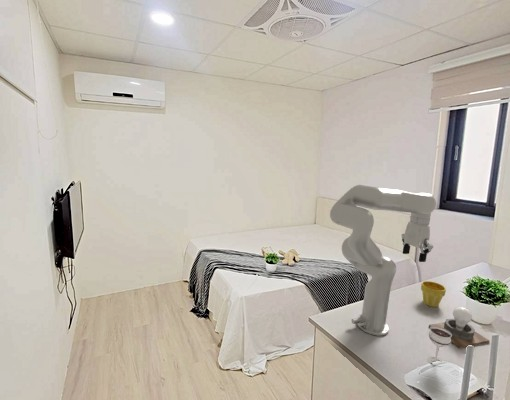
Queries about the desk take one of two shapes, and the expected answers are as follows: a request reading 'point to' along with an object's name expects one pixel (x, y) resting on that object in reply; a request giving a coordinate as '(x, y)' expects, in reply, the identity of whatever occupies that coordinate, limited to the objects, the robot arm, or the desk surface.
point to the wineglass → (439, 339)
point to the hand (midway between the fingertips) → (413, 257)
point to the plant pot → (432, 293)
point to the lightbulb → (461, 317)
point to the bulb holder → (462, 334)
